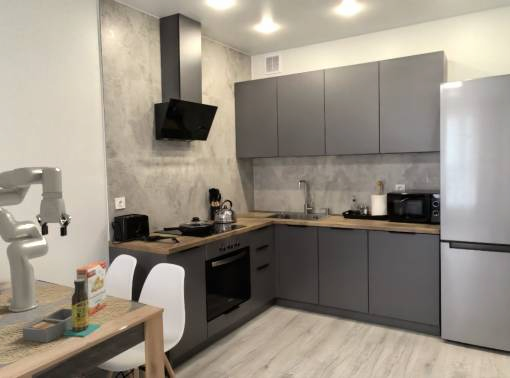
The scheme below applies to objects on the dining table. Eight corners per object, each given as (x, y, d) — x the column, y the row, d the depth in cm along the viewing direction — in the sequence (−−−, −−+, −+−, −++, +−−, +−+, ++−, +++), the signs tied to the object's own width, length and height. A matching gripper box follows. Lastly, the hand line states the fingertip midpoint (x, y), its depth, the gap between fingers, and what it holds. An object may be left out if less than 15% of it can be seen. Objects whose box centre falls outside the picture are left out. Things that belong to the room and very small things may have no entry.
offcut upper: (31, 332, 152) (31, 326, 151) (43, 327, 156) (42, 321, 156) (44, 335, 149) (44, 329, 149) (56, 329, 154) (56, 324, 154)
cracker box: (89, 316, 171) (87, 269, 170) (77, 315, 172) (75, 269, 171) (107, 305, 185) (105, 261, 184) (96, 304, 186) (94, 261, 185)
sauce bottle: (78, 333, 153) (75, 283, 151) (68, 330, 156) (66, 281, 155) (93, 327, 158) (90, 279, 157) (83, 324, 162) (81, 277, 160)
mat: (62, 334, 153) (62, 333, 153) (79, 324, 163) (79, 323, 163) (84, 337, 151) (84, 335, 151) (100, 326, 161) (100, 325, 161)
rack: (23, 339, 149) (22, 328, 149) (62, 318, 170) (62, 308, 169) (47, 342, 147) (46, 330, 146) (84, 320, 167) (84, 310, 167)
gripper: (29, 196, 167) (30, 236, 169) (63, 197, 163) (65, 237, 164) (42, 195, 175) (44, 233, 176) (75, 195, 170) (77, 234, 171)
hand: (54, 235), depth 170 cm, fingers open, 9 cm apart
